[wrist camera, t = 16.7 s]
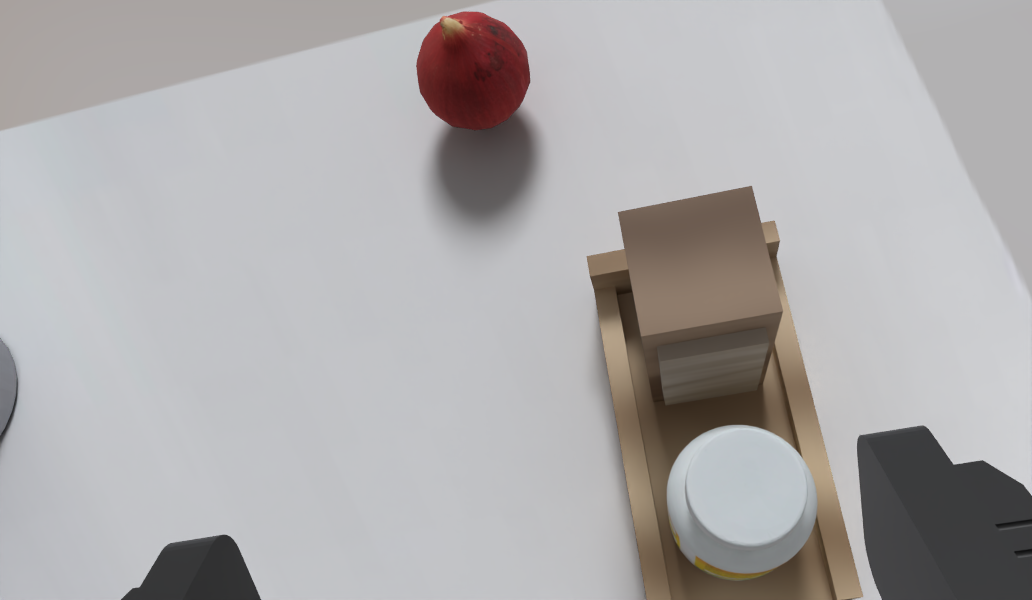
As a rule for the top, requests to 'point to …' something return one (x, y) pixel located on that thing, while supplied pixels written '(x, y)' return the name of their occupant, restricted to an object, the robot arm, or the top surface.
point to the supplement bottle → (740, 502)
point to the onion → (472, 70)
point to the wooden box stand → (710, 380)
